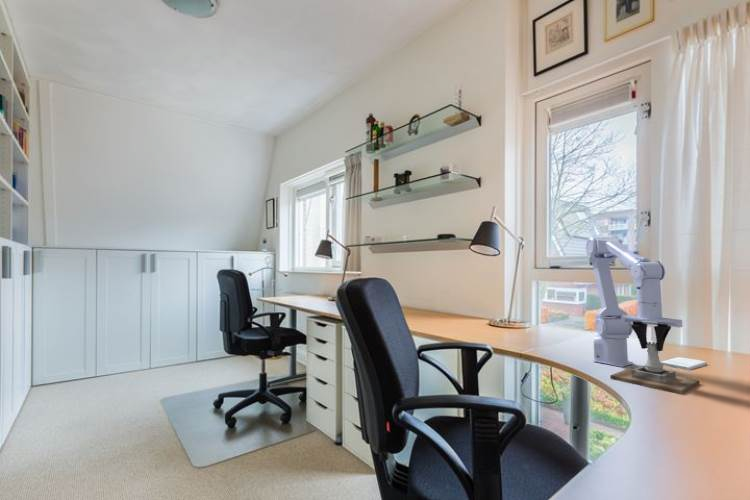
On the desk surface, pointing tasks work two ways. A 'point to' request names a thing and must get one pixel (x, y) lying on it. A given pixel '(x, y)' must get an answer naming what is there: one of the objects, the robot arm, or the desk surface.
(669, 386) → the socket board
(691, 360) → the external hard drive
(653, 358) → the rook chess piece
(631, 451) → the desk surface
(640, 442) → the desk surface
